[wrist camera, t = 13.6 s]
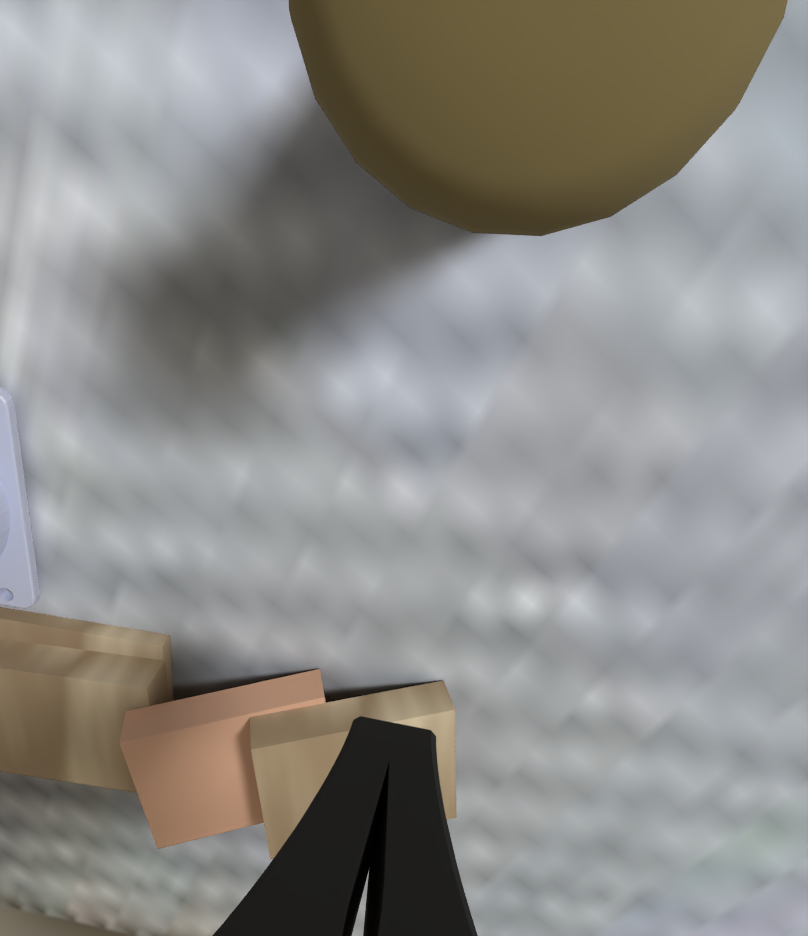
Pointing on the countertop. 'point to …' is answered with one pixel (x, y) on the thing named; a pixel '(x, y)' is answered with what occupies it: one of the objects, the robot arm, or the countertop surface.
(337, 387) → the countertop surface
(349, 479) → the countertop surface
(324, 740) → the end domino
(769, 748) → the countertop surface
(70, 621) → the domino
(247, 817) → the domino
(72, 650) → the middle domino
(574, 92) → the cork
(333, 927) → the robot arm
